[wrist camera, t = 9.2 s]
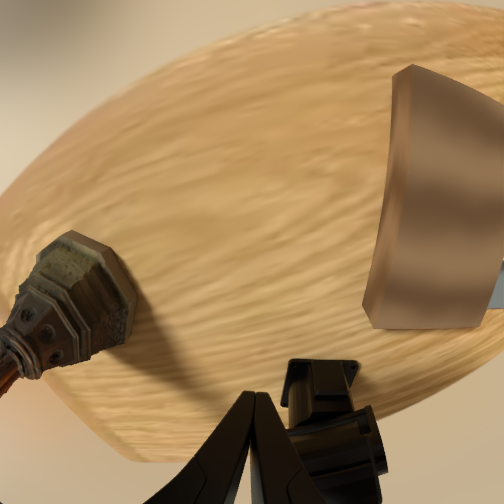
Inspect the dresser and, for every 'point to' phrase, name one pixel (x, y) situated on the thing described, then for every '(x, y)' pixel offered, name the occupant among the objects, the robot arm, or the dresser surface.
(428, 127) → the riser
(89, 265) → the dark bronze flared piece
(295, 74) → the dresser surface
